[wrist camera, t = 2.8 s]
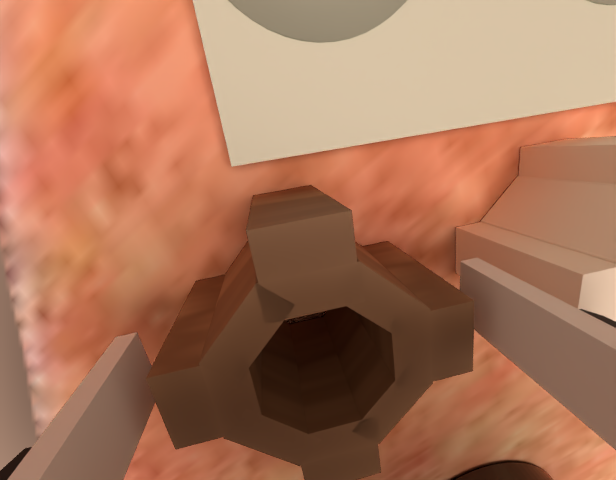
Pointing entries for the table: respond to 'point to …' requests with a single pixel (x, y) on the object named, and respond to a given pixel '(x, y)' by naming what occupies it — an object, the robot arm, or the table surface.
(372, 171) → the table surface
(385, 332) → the walnut gear
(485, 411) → the table surface
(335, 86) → the board
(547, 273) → the cream gear
